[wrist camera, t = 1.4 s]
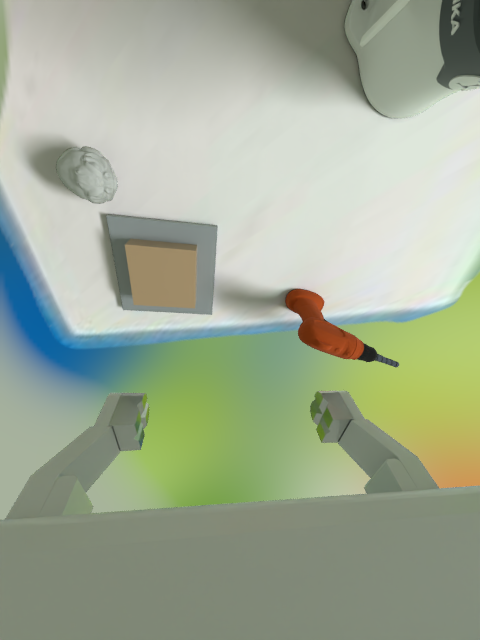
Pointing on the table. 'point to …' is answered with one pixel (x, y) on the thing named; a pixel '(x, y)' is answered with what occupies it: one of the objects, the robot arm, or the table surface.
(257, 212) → the table surface
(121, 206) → the table surface
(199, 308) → the baseplate
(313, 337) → the toy drill
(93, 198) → the grey lumpy sculpture
